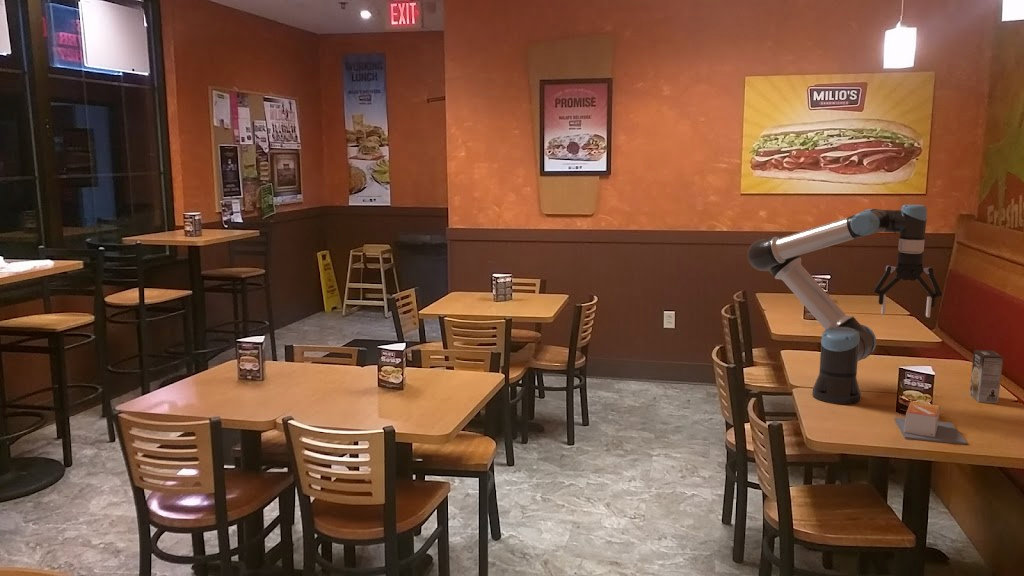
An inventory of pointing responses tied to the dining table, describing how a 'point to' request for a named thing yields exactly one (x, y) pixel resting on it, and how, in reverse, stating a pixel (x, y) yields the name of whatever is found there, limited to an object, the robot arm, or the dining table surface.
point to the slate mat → (943, 434)
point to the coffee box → (986, 376)
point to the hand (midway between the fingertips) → (905, 315)
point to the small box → (922, 419)
